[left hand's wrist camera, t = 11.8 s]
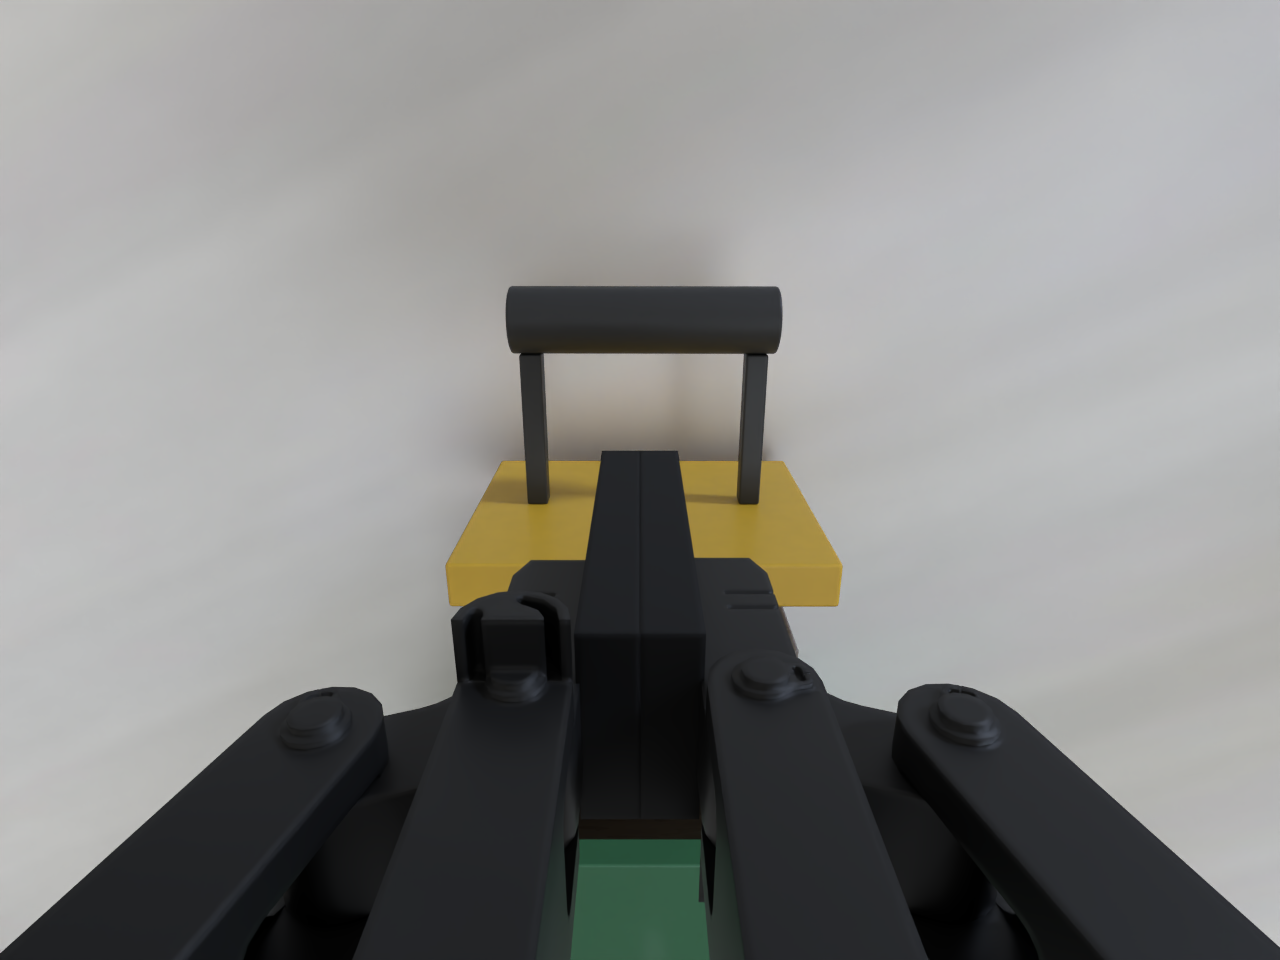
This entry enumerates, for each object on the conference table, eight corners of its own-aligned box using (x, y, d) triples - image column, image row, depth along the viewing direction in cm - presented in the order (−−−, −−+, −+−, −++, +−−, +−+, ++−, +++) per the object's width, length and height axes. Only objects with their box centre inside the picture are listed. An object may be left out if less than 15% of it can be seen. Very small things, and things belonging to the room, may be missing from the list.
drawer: (488, 274, 23) (416, 305, 15) (798, 274, 23) (872, 306, 15) (524, 782, 30) (486, 968, 23) (759, 782, 30) (798, 968, 23)
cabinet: (505, 658, 29) (443, 865, 20) (778, 658, 29) (843, 865, 20) (525, 932, 34) (484, 1195, 25) (756, 933, 34) (799, 1195, 25)
